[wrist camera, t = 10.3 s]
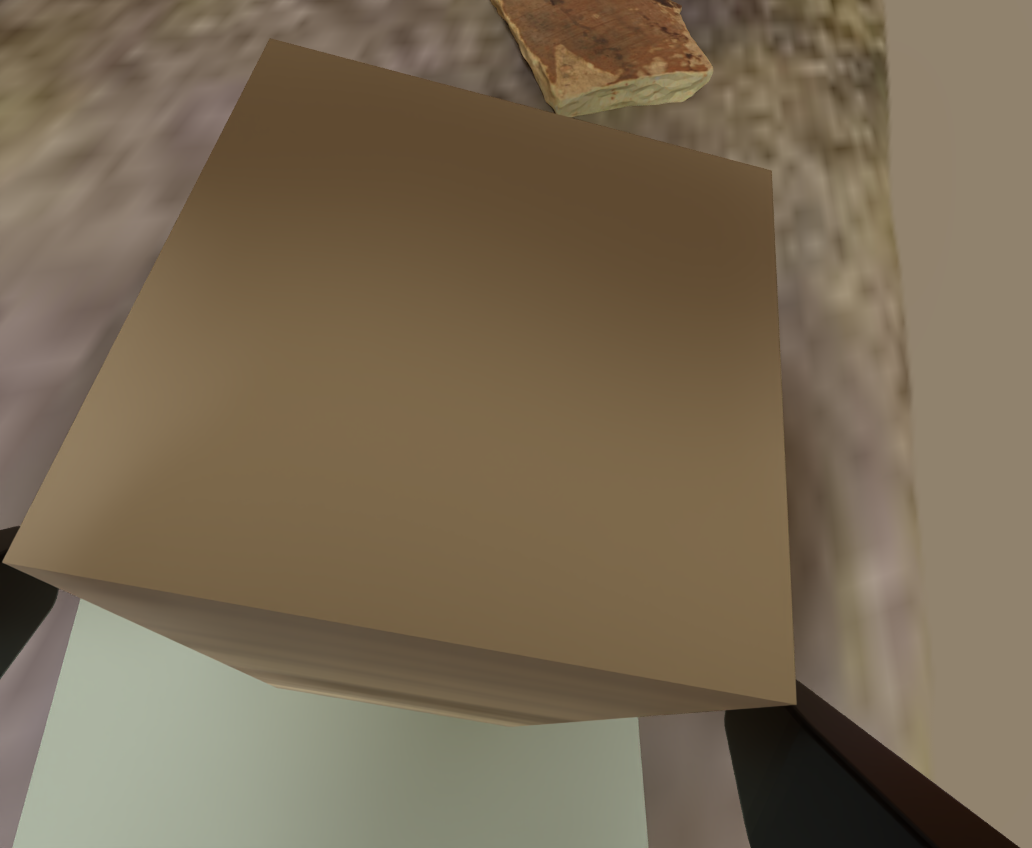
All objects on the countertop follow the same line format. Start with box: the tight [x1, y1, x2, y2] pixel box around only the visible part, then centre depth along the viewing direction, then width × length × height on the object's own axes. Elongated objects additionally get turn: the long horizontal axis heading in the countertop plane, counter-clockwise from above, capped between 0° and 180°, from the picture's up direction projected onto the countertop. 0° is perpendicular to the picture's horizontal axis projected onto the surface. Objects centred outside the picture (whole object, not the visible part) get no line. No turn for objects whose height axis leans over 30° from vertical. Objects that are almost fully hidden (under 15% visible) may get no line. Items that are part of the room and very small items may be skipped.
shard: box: [491, 0, 713, 118], centre depth 26 cm, size 11×8×2 cm
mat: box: [12, 599, 648, 848], centre depth 14 cm, size 12×12×1 cm
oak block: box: [2, 39, 797, 727], centre depth 10 cm, size 5×5×11 cm
